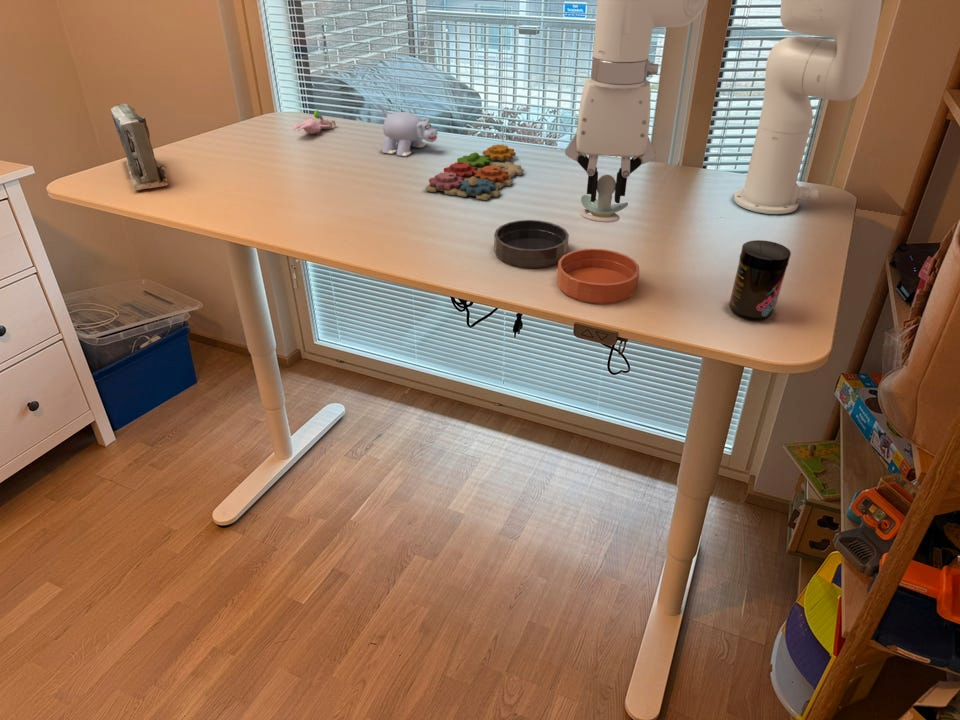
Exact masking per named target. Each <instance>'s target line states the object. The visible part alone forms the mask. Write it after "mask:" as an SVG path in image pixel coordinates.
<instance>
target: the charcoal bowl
mask: <svg viewBox="0 0 960 720" xmlns="http://www.w3.org/2000/svg"><path fill="white" fill-rule="evenodd" d="M493 235H494V236H493V241H494V242H493V252H494V254H495V255H496V257H498V259H499V260H501V262H503V263H505V264H507V265H510V266H512V267H517V268H523V269H543V268H544V269H545V268H549V267H552V266H556V265H558V261H559V260H560V259H561V258H562V256H564V255H566V254H568V249H569V238H570V237H569V236H570V235H569V232H568V231H567V230H566V229H565V228H564V227H563V226H560V225H559V224H555V223H552V222H550V221H545V220H536V219H522V220H515V221H509V222H507V223H504V224H501V225H500V226H499V227H497V228H496V229H495V231H494V234H493Z"/></svg>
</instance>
